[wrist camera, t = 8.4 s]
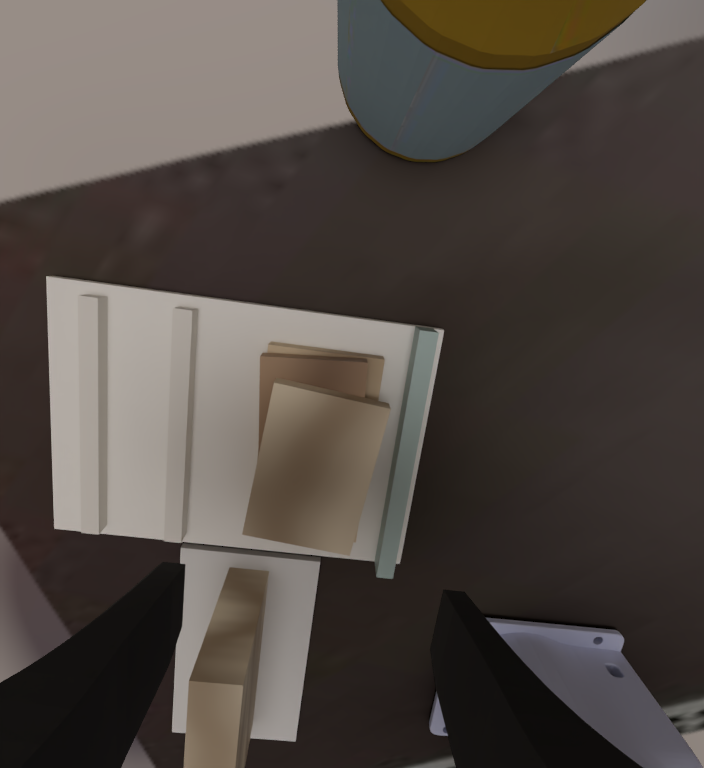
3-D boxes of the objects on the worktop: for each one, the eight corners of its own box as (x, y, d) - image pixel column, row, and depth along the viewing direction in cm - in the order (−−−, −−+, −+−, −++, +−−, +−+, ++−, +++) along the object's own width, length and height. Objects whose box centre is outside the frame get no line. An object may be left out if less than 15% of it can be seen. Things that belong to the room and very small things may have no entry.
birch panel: (269, 571, 23) (243, 685, 17) (252, 722, 26) (225, 870, 19) (229, 567, 23) (188, 681, 17) (217, 719, 26) (177, 868, 19)
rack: (441, 328, 21) (450, 334, 19) (398, 556, 24) (403, 579, 22) (54, 275, 20) (27, 277, 18) (61, 521, 23) (38, 543, 21)
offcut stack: (391, 357, 20) (397, 369, 18) (362, 533, 23) (364, 564, 20) (266, 340, 20) (257, 351, 18) (250, 521, 22) (239, 552, 20)
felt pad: (320, 557, 24) (320, 562, 23) (296, 734, 27) (295, 741, 26) (183, 543, 23) (180, 547, 23) (174, 725, 26) (171, 732, 26)
